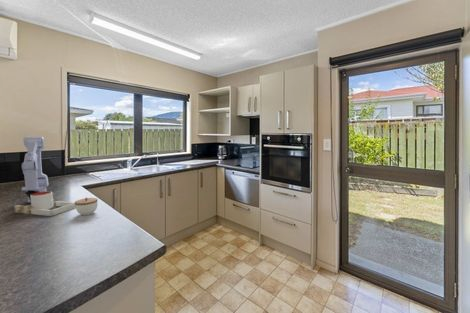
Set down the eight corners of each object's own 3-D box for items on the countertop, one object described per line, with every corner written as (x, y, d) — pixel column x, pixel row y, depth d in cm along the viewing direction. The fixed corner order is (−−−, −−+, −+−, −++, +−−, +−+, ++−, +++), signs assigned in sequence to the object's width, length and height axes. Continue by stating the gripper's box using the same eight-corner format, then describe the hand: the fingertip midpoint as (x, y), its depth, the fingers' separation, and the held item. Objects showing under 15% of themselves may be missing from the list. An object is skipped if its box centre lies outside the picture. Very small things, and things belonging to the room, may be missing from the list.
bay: (14, 212, 129) (13, 205, 128) (42, 204, 143) (41, 198, 143) (29, 213, 126) (28, 207, 126) (55, 205, 141) (55, 199, 140)
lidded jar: (83, 210, 131) (82, 195, 130) (102, 210, 131) (101, 194, 130) (71, 217, 120) (69, 200, 119) (91, 216, 121) (90, 200, 120)
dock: (31, 214, 126) (30, 208, 125) (57, 205, 140) (57, 201, 140) (51, 215, 122) (51, 210, 122) (76, 207, 137) (76, 202, 136)
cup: (35, 213, 126) (33, 196, 125) (29, 210, 132) (27, 194, 131) (56, 208, 135) (55, 192, 134) (49, 205, 140) (48, 190, 139)
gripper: (14, 181, 131) (17, 203, 132) (33, 182, 127) (35, 205, 129) (28, 179, 138) (30, 200, 139) (45, 180, 134) (48, 201, 136)
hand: (33, 202), depth 134 cm, fingers closed
